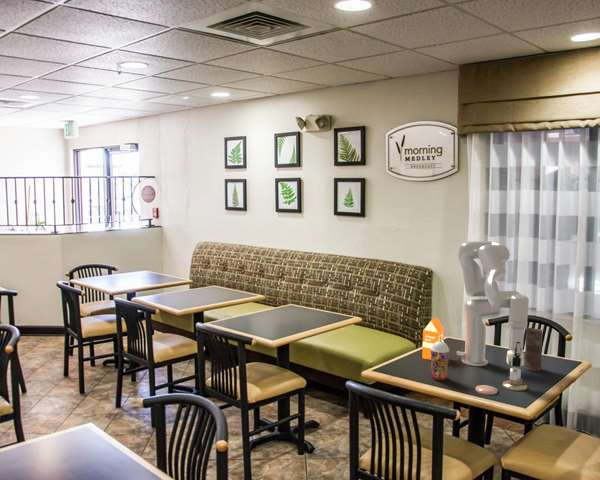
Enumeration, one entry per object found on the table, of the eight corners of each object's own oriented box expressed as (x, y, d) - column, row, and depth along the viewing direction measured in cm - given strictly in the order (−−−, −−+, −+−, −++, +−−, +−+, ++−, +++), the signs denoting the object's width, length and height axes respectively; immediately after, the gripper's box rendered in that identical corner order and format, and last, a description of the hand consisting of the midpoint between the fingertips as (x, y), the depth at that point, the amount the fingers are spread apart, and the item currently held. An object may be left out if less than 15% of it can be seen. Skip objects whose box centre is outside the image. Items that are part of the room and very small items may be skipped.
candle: (520, 367, 269) (522, 327, 267) (532, 365, 272) (534, 325, 270) (533, 372, 262) (535, 331, 260) (544, 370, 265) (547, 329, 263)
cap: (505, 360, 248) (506, 346, 247) (521, 361, 246) (522, 348, 245) (507, 365, 241) (508, 351, 240) (524, 366, 240) (525, 353, 239)
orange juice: (422, 358, 282) (423, 319, 280) (428, 353, 290) (430, 316, 288) (436, 361, 278) (438, 321, 276) (443, 356, 285) (444, 318, 283)
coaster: (472, 391, 238) (472, 389, 238) (478, 385, 245) (478, 383, 245) (494, 396, 233) (494, 394, 233) (499, 389, 240) (499, 387, 240)
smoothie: (438, 382, 248) (439, 339, 246) (425, 376, 255) (427, 334, 253) (452, 379, 252) (454, 336, 250) (439, 374, 259) (441, 332, 257)
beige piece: (500, 387, 243) (500, 369, 242) (505, 380, 251) (506, 363, 250) (524, 392, 237) (525, 374, 236) (529, 385, 246) (530, 367, 245)
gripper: (505, 317, 251) (503, 355, 253) (511, 328, 234) (508, 369, 236) (523, 319, 249) (520, 357, 251) (530, 330, 232) (527, 371, 235)
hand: (514, 362), depth 244 cm, fingers closed on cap, 6 cm apart
